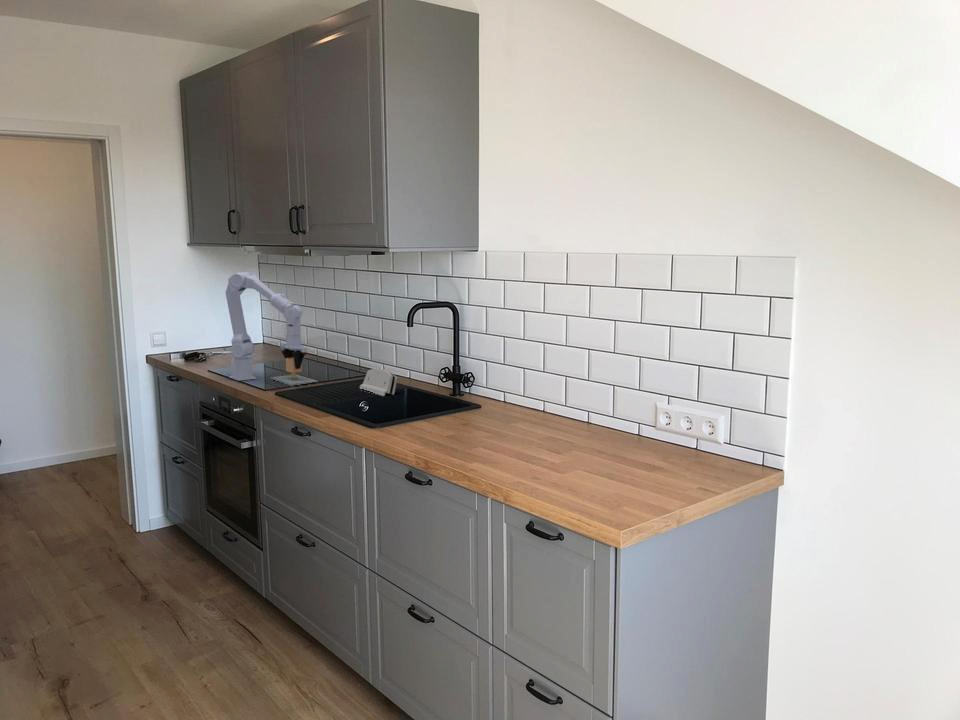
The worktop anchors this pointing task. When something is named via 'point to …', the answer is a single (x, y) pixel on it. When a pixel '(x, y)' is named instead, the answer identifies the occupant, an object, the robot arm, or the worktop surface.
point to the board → (293, 379)
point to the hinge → (379, 382)
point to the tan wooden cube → (291, 365)
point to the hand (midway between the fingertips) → (293, 367)
